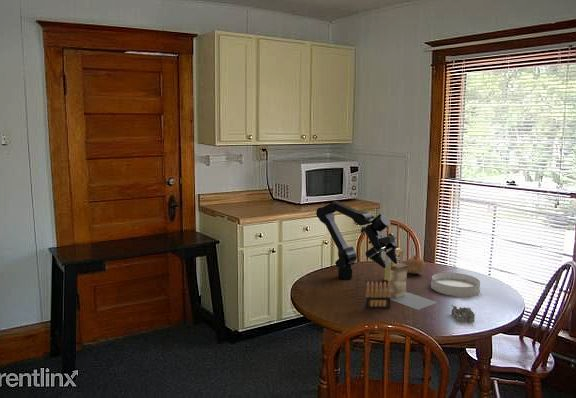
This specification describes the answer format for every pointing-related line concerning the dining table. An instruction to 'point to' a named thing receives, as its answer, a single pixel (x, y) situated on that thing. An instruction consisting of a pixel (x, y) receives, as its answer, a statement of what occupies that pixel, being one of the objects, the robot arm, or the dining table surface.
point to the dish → (456, 284)
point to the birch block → (398, 280)
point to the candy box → (392, 263)
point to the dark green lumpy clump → (463, 314)
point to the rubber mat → (412, 301)
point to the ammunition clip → (377, 296)
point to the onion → (415, 264)
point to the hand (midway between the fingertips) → (390, 265)
